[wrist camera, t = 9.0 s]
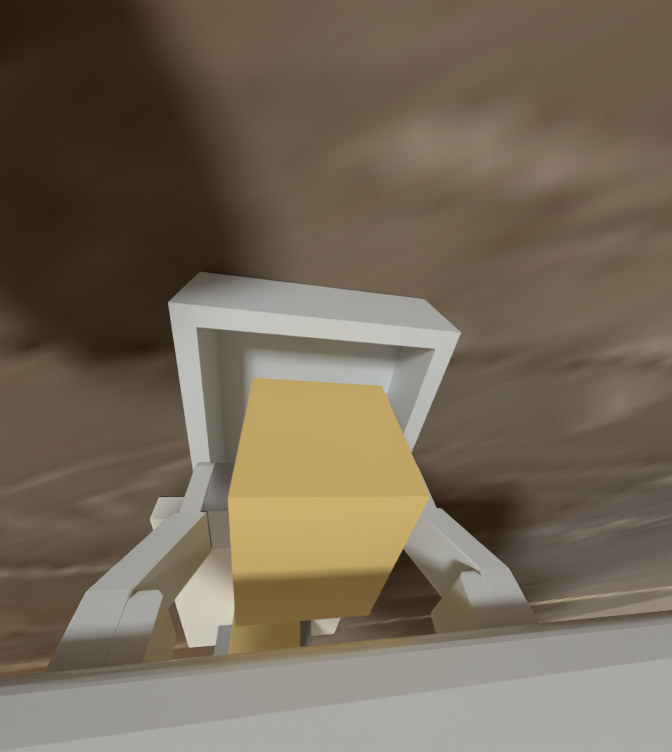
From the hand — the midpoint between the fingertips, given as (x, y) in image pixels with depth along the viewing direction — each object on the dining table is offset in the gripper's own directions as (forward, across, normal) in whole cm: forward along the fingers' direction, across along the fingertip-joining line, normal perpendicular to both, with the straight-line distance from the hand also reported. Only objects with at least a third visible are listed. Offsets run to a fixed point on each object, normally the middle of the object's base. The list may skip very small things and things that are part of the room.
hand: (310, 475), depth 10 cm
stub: (+1, 0, 0) cm, 1 cm away
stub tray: (+4, 0, 0) cm, 4 cm away
